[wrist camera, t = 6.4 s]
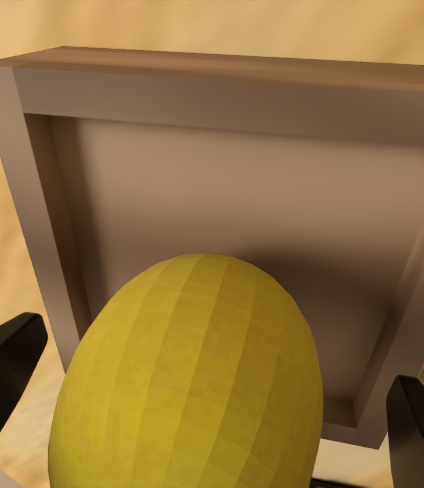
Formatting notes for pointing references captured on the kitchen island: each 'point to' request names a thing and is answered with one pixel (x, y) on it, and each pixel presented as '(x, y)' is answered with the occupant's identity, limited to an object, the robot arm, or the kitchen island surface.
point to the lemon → (191, 385)
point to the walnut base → (230, 194)
